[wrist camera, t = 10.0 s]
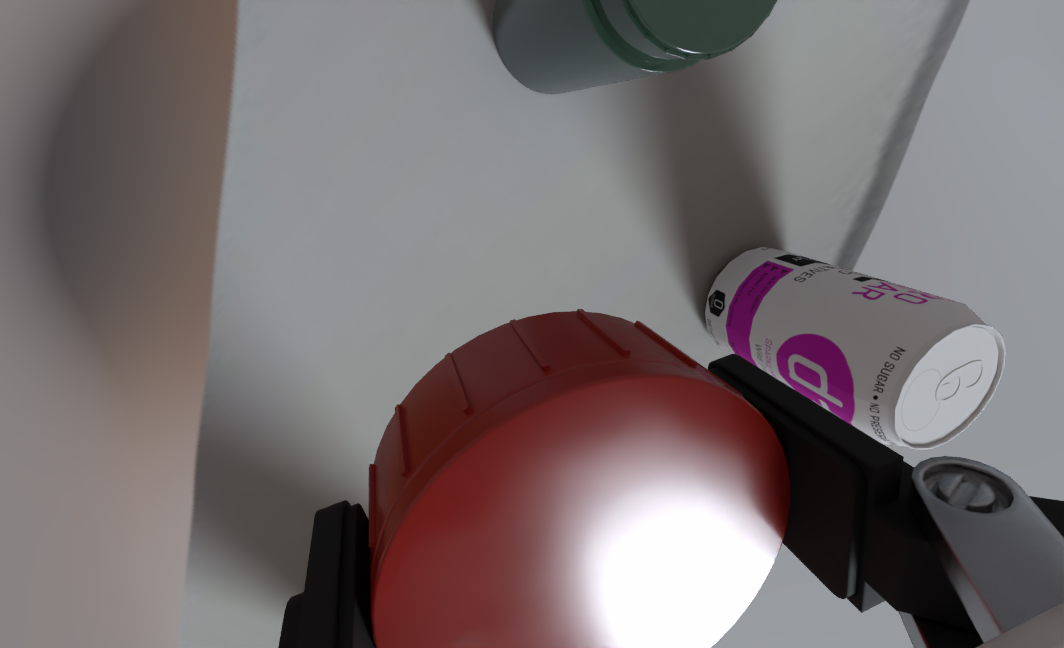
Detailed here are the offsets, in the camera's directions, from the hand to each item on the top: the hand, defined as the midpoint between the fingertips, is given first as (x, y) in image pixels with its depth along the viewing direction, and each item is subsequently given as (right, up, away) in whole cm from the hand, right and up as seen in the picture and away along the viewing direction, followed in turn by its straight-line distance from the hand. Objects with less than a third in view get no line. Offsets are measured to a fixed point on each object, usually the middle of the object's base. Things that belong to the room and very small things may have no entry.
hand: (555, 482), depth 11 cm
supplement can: (+16, +5, +28) cm, 32 cm away
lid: (+1, -1, -2) cm, 2 cm away
